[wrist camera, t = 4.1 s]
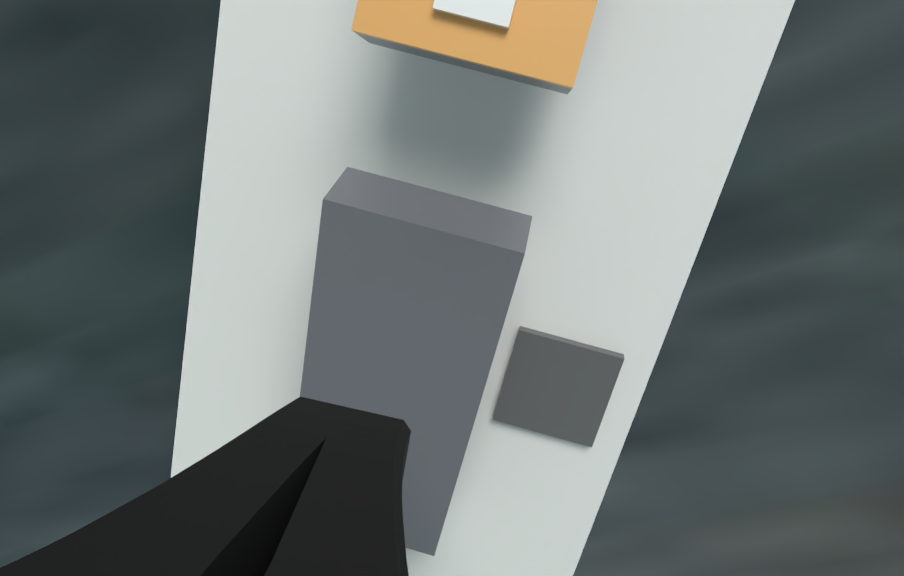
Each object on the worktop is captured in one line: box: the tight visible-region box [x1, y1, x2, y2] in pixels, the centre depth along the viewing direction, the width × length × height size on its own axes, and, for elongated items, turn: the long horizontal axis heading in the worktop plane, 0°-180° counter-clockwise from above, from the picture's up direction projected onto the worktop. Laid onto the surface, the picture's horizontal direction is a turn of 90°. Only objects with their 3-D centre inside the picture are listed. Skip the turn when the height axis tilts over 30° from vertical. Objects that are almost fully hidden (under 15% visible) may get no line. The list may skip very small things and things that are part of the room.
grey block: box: [300, 167, 532, 556], centre depth 13 cm, size 3×7×1 cm, turn 167°
